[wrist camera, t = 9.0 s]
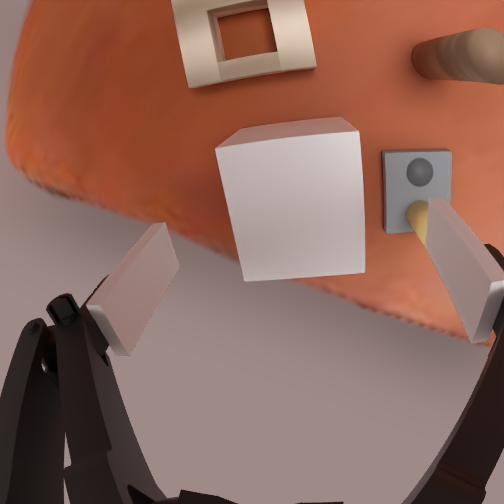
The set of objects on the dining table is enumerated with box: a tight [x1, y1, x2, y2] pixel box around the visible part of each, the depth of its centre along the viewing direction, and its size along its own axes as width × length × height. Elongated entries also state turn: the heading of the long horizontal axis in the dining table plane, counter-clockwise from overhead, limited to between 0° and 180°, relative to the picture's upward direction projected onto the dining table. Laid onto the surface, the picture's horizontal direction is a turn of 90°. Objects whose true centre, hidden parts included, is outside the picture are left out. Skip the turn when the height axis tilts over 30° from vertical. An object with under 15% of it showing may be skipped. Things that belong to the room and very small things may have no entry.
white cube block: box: [215, 117, 365, 282], centre depth 22 cm, size 9×8×8 cm
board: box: [382, 149, 452, 246], centre depth 22 cm, size 7×6×5 cm
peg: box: [412, 27, 504, 85], centre depth 14 cm, size 3×3×10 cm
